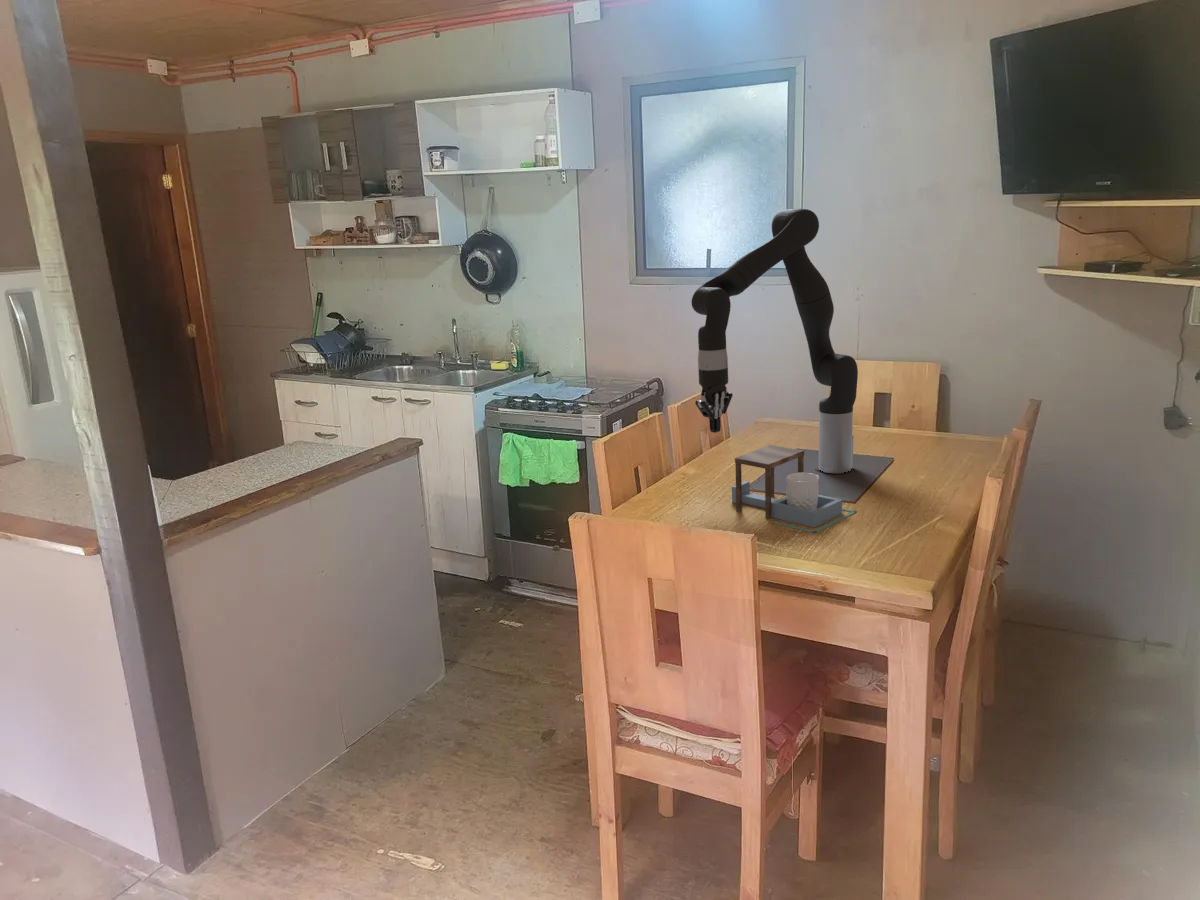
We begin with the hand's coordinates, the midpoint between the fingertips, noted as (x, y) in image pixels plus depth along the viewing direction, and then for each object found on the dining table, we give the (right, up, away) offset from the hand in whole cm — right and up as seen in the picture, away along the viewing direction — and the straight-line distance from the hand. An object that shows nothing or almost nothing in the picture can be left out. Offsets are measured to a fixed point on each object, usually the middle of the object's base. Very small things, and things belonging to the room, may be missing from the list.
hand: (715, 431), depth 226 cm
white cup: (+19, -21, -14) cm, 32 cm away
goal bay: (+22, -22, -17) cm, 35 cm away
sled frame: (+15, -20, -10) cm, 27 cm away
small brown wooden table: (+13, -20, -7) cm, 25 cm away
